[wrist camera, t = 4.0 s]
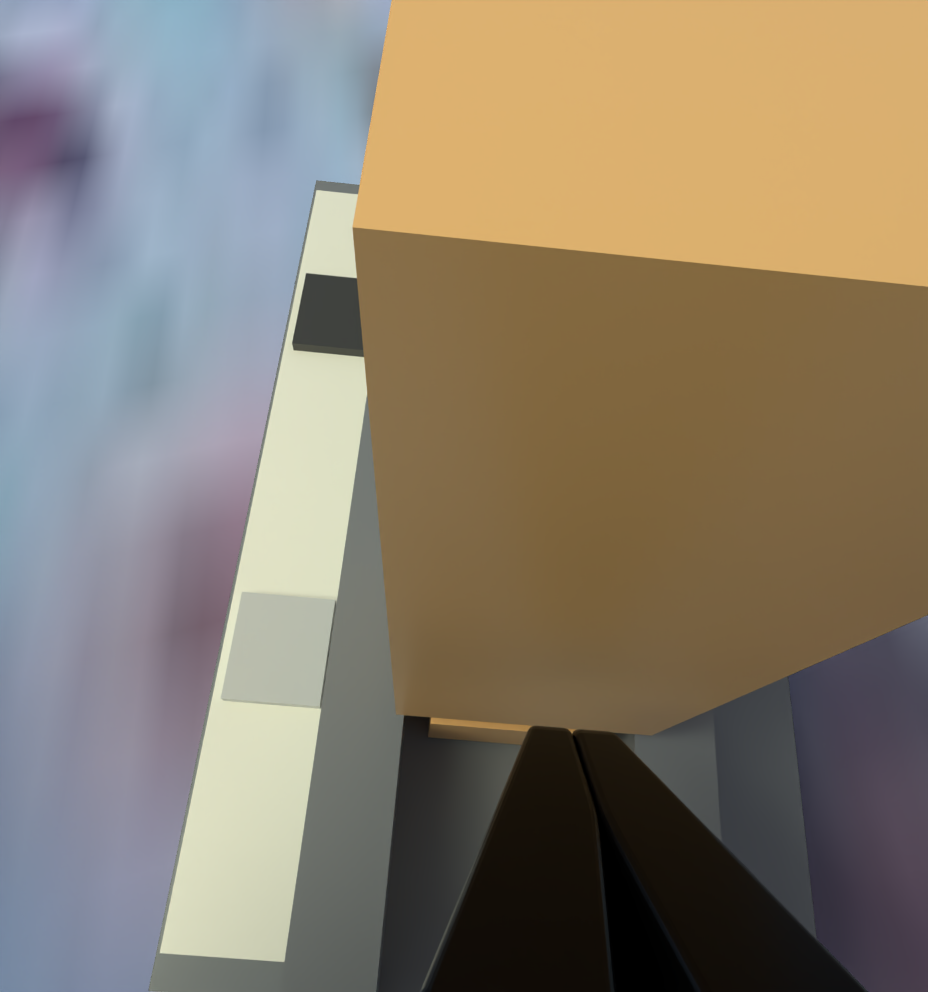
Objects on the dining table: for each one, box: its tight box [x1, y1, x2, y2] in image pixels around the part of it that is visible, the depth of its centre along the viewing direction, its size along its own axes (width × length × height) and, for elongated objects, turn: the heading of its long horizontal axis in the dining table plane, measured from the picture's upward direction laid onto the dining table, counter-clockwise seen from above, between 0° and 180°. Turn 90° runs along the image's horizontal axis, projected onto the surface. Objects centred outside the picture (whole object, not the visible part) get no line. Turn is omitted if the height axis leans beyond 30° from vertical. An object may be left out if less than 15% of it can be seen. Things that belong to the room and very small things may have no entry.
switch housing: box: [149, 181, 817, 992], centre depth 14 cm, size 16×10×3 cm, turn 176°
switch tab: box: [352, 0, 928, 745], centre depth 8 cm, size 2×4×11 cm, turn 86°
